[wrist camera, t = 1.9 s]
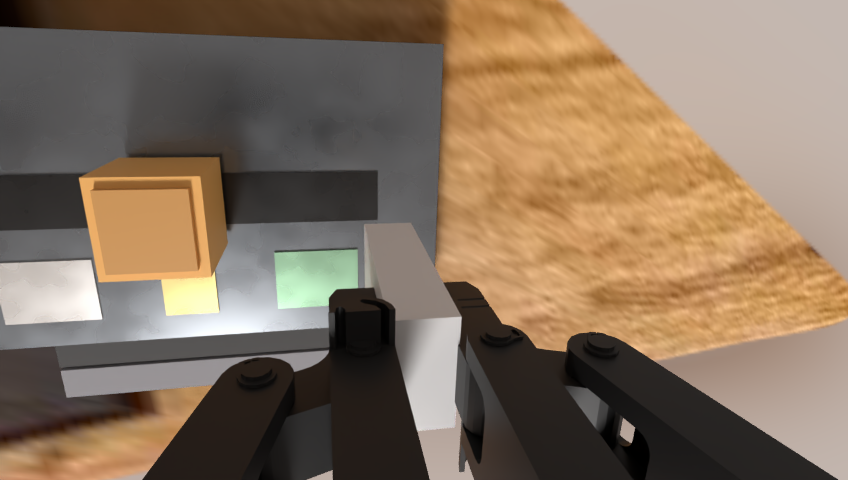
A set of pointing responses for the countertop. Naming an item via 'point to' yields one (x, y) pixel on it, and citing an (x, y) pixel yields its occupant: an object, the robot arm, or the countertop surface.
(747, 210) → the countertop surface
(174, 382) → the light grey bar
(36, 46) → the panel
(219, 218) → the orange block
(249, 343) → the dark grey bar
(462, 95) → the countertop surface
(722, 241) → the countertop surface
